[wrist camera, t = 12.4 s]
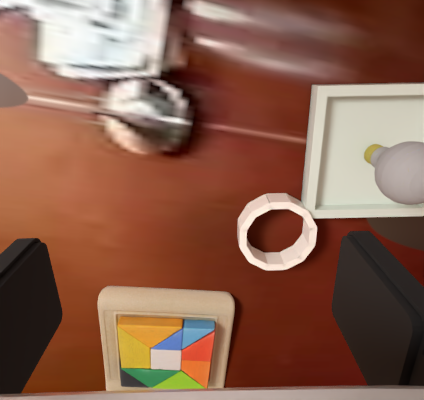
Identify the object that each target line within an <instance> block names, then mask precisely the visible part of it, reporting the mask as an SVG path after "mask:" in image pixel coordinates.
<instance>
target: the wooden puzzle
mask: <svg viewBox="0 0 424 400" xmlns="http://www.w3.org/2000/svg"><path fill="white" fill-rule="evenodd" d="M234 312H235V302H234V299H233V297H232V295H231V294H230V293H228V292H222V291H205V290H186V289H167V288H147V287H127V286H107V287H105V288H104V289H103V290H102V291H101V292H100V294H99V297H98V313H99V322H100V331H101V340H102V349H103V358H104V367H105V378H106V390H107V391H126V390H164V389H206V388H224V382H225V375H226V368H227V360H228V353H229V347H230V339H231V333H232V326H233V319H234Z"/></svg>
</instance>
